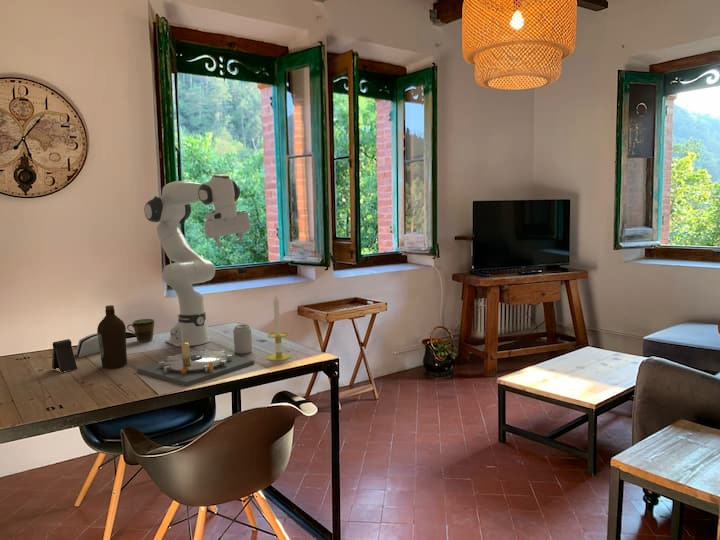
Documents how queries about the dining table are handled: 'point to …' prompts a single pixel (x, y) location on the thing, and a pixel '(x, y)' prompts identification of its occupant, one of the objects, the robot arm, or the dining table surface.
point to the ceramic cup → (143, 329)
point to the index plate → (195, 376)
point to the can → (242, 339)
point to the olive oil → (112, 340)
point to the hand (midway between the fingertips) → (230, 244)
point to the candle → (278, 336)
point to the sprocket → (194, 360)
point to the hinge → (88, 345)
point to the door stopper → (63, 356)
